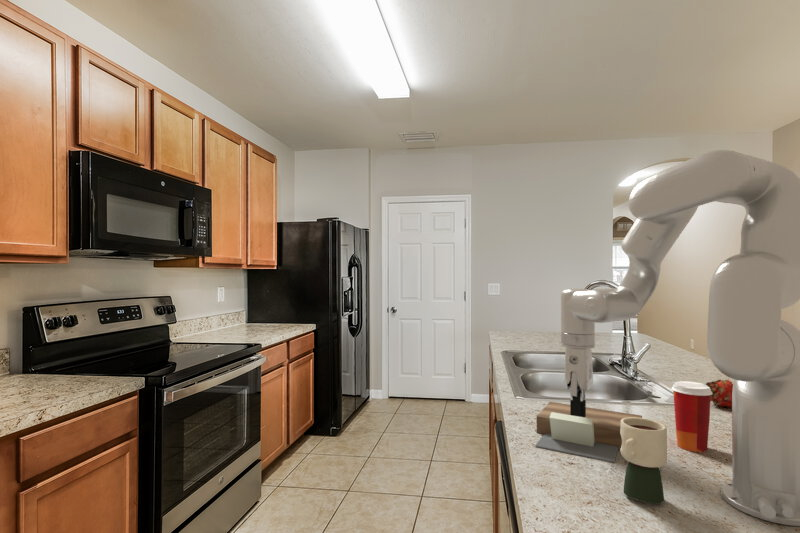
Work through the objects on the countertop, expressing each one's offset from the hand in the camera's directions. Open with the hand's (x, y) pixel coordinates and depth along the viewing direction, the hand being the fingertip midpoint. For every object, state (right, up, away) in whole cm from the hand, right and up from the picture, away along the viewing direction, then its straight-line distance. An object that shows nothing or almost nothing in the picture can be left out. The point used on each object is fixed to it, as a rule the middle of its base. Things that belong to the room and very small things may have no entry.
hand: (578, 416), depth 107 cm
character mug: (0, -5, -29) cm, 30 cm away
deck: (+4, -5, +2) cm, 6 cm away
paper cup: (+23, -5, -7) cm, 24 cm away
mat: (-3, -5, -7) cm, 9 cm away
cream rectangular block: (-3, -1, -4) cm, 5 cm away
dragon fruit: (+52, -5, +23) cm, 57 cm away
